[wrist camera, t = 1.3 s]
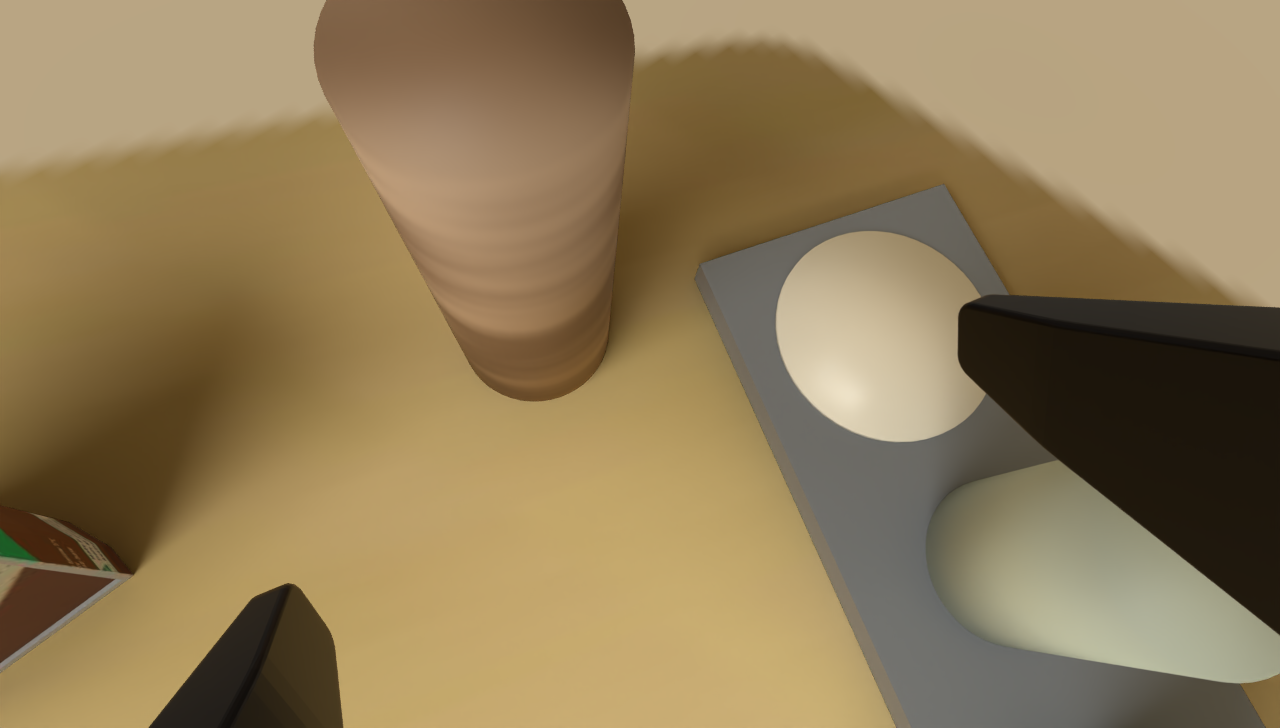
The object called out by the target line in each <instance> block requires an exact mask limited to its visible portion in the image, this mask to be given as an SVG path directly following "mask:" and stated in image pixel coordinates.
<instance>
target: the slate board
mask: <svg viewBox="0 0 1280 728" xmlns="http://www.w3.org/2000/svg"><path fill="white" fill-rule="evenodd" d="M695 281H696V283H697V286H698V288H699V290H700V292H701V295H702V297H703V299H704V301H705V303H706V306H707V308H708V310H709V312H710V315H711V317H712V319H713V321H714V323H715V326H716V328H717V330H718V332H719V335H720V337H721V339H722V341H723V343H724V346H725V348H726V350H727V352H728V355H729V357H730V359H731V361H732V363H733V366H734V368H735V370H736V372H737V374H738V377H739V379H740V381H741V383H742V386H743V388H744V390H745V392H746V394H747V397H748V399H749V401H750V403H751V406H752V408H753V410H754V412H755V414H756V417H757V419H758V421H759V423H760V426H761V428H762V430H763V432H764V434H765V437H766V439H767V441H768V443H769V446H770V448H771V450H772V452H773V454H774V457H775V459H776V461H777V463H778V466H779V468H780V470H781V472H782V474H783V477H784V479H785V481H786V483H787V486H788V488H789V490H790V492H791V494H792V497H793V499H794V501H795V503H796V506H797V508H798V510H799V512H800V514H801V517H802V519H803V521H804V523H805V526H806V528H807V530H808V532H809V534H810V537H811V539H812V541H813V543H814V545H815V548H816V550H817V552H818V554H819V557H820V559H821V561H822V563H823V565H824V568H825V570H826V572H827V574H828V577H829V579H830V581H831V583H832V585H833V588H834V590H835V592H836V594H837V597H838V599H839V601H840V603H841V605H842V608H843V610H844V612H845V614H846V617H847V619H848V621H849V623H850V625H851V628H852V630H853V632H854V634H855V637H856V639H857V641H858V643H859V645H860V648H861V650H862V652H863V654H864V657H865V659H866V661H867V663H868V665H869V668H870V670H871V672H872V674H873V677H874V679H875V681H876V683H877V685H878V688H879V690H880V692H881V694H882V696H883V699H884V701H885V703H886V705H887V708H888V710H889V712H890V714H891V716H892V719H893V721H894V723H895V725H896V728H1266V727H1265V726H1264V724H1263V722H1262V721H1261V719H1260V717H1259V716H1258V714H1257V712H1256V710H1255V709H1254V707H1253V705H1252V704H1251V702H1250V700H1249V699H1248V697H1247V695H1246V694H1245V692H1244V690H1243V689H1242V687H1241V685H1240V683H1227V682H1219V681H1213V680H1206V679H1200V678H1194V677H1188V676H1182V675H1176V674H1170V673H1163V672H1157V671H1151V670H1145V669H1139V668H1133V667H1126V666H1120V665H1114V664H1108V663H1102V662H1096V661H1090V660H1083V659H1077V658H1071V657H1065V656H1059V655H1053V654H1047V653H1040V652H1034V651H1028V650H1022V649H1016V648H1010V647H1004V646H1000V645H996V644H993V643H990V642H988V641H985V640H983V639H981V638H979V637H978V636H976V635H974V634H973V633H971V632H970V631H968V630H967V629H965V628H964V627H963V626H962V625H961V624H960V623H959V622H958V621H956V619H955V618H954V617H953V616H952V615H951V614H950V613H949V612H948V610H947V609H946V607H945V606H944V605H943V603H942V602H941V600H940V598H939V596H938V595H937V593H936V591H935V589H934V586H933V584H932V581H931V578H930V575H929V572H928V567H927V561H926V548H925V547H926V536H927V531H928V526H929V523H930V521H931V518H932V516H933V514H934V512H935V510H936V508H937V507H938V505H939V504H940V503H941V501H942V500H943V499H944V498H945V497H946V496H947V495H948V494H949V493H951V492H952V491H953V490H955V489H956V488H958V487H960V486H962V485H964V484H967V483H969V482H972V481H976V480H980V479H984V478H988V477H992V476H996V475H1000V474H1004V473H1008V472H1012V471H1016V470H1020V469H1024V468H1028V467H1032V466H1036V465H1040V464H1044V463H1048V462H1052V461H1056V460H1058V459H1056V458H1055V457H1054V456H1053V455H1052V454H1050V453H1049V452H1048V451H1047V450H1046V449H1044V448H1043V447H1042V446H1041V445H1040V444H1039V443H1038V442H1036V441H1035V440H1034V439H1033V438H1032V437H1031V436H1030V435H1029V434H1028V433H1027V432H1026V431H1025V430H1024V429H1023V428H1022V427H1020V426H1019V425H1018V424H1017V423H1016V422H1015V421H1014V420H1013V419H1012V418H1011V417H1010V416H1009V415H1008V414H1007V413H1006V412H1005V411H1004V410H1003V409H1002V408H1001V407H1000V406H999V405H998V404H997V403H995V402H994V401H993V400H992V399H991V398H990V397H989V396H988V395H987V394H986V393H985V392H984V391H983V390H982V389H981V388H980V387H979V386H978V385H977V384H976V383H975V382H974V381H973V380H971V379H970V378H969V377H968V376H967V375H966V374H965V372H964V371H963V370H962V368H961V366H960V364H959V361H958V355H957V349H958V313H959V311H960V309H961V307H962V306H963V305H964V304H966V303H968V302H971V301H973V300H975V299H978V298H980V297H983V296H985V295H990V294H997V295H1009V293H1008V291H1007V290H1006V288H1005V286H1004V285H1003V283H1002V281H1001V280H1000V278H999V276H998V274H997V273H996V271H995V269H994V268H993V266H992V264H991V263H990V261H989V259H988V258H987V256H986V254H985V253H984V251H983V249H982V247H981V246H980V244H979V242H978V241H977V239H976V237H975V236H974V234H973V232H972V231H971V229H970V227H969V225H968V224H967V222H966V220H965V219H964V217H963V215H962V214H961V212H960V210H959V209H958V207H957V205H956V204H955V202H954V200H953V198H952V197H951V195H950V193H949V192H948V190H947V188H946V187H945V185H944V184H942V185H939V186H936V187H933V188H930V189H927V190H924V191H921V192H918V193H915V194H912V195H909V196H906V197H903V198H900V199H897V200H893V201H890V202H887V203H884V204H881V205H878V206H875V207H872V208H869V209H866V210H863V211H860V212H857V213H854V214H851V215H848V216H845V217H842V218H838V219H835V220H832V221H829V222H826V223H823V224H820V225H817V226H814V227H811V228H808V229H805V230H802V231H799V232H796V233H793V234H790V235H787V236H783V237H780V238H777V239H774V240H771V241H768V242H765V243H762V244H759V245H756V246H753V247H750V248H747V249H744V250H741V251H738V252H735V253H732V254H728V255H725V256H722V257H719V258H716V259H713V260H710V261H707V262H704V263H701V264H700V265H699V268H698V270H697V273H696V276H695Z"/></svg>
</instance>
